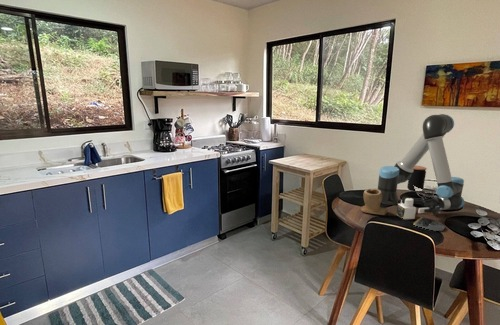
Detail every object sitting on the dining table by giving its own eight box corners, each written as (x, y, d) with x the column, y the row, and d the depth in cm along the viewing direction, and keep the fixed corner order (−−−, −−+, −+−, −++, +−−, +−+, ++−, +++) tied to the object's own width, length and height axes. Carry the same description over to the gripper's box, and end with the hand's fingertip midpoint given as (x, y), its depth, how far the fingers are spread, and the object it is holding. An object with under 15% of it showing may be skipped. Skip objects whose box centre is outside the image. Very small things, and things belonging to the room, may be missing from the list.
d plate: (447, 226, 158) (447, 223, 158) (440, 233, 150) (440, 231, 149) (421, 219, 168) (421, 216, 167) (413, 225, 159) (413, 222, 159)
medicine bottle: (396, 214, 174) (398, 195, 171) (407, 214, 174) (410, 195, 172) (403, 219, 167) (405, 200, 164) (414, 219, 167) (417, 199, 165)
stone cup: (359, 214, 174) (361, 190, 170) (361, 207, 184) (364, 185, 180) (386, 219, 167) (390, 194, 163) (387, 212, 177) (390, 189, 174)
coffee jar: (425, 192, 214) (428, 169, 210) (409, 191, 216) (413, 168, 212) (419, 188, 224) (423, 165, 220) (405, 187, 227) (408, 165, 222)
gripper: (457, 217, 162) (426, 221, 158) (421, 202, 186) (393, 204, 181) (459, 205, 161) (428, 208, 156) (423, 191, 184) (395, 193, 179)
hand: (409, 206), depth 168 cm, fingers open, 13 cm apart
